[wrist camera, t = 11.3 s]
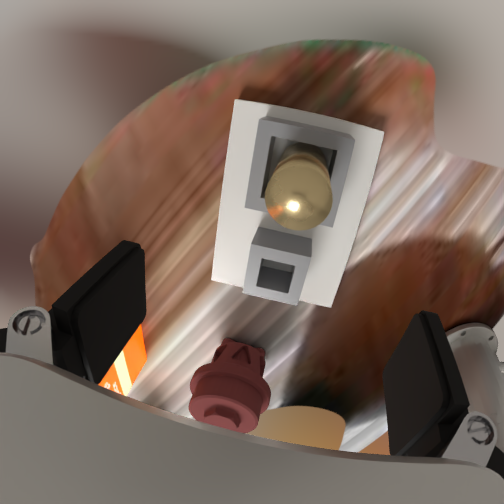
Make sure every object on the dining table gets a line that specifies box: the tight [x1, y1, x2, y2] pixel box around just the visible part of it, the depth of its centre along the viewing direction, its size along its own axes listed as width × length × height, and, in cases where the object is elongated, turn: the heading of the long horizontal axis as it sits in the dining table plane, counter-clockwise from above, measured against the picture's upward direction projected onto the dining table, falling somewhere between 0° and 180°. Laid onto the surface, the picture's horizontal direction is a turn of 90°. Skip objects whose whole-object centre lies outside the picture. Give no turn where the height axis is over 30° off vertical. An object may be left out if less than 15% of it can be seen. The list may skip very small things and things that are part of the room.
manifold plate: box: [211, 99, 384, 308], centre depth 31 cm, size 14×20×6 cm
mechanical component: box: [189, 338, 271, 433], centre depth 39 cm, size 12×10×10 cm
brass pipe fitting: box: [265, 142, 333, 231], centre depth 25 cm, size 4×4×10 cm
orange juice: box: [98, 324, 147, 396], centre depth 39 cm, size 8×9×20 cm
